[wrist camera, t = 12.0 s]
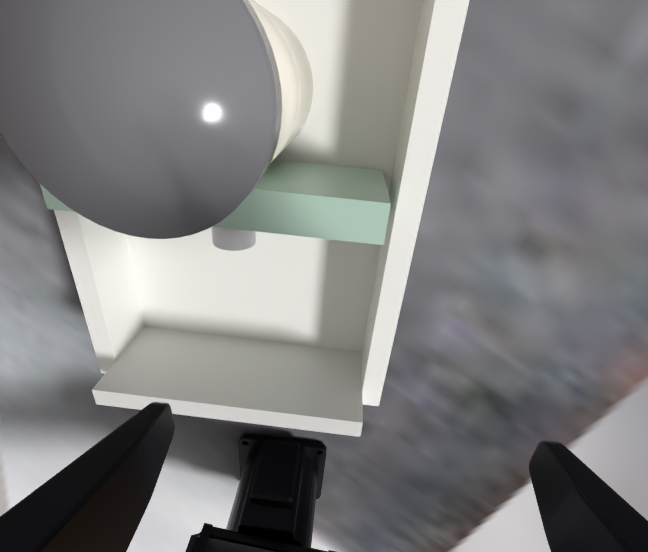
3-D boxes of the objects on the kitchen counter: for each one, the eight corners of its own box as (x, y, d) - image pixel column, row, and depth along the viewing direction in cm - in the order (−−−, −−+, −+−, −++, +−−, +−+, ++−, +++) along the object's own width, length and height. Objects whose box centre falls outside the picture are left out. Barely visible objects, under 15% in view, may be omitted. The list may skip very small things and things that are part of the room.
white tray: (375, 355, 23) (380, 439, 18) (139, 327, 23) (76, 402, 18) (476, -154, 12) (567, -330, 7) (33, -188, 12) (-200, -377, 7)
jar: (312, 164, 16) (271, 250, 8) (186, 152, 17) (27, 226, 9) (321, 5, 14) (271, -92, 6) (169, -6, 14) (-92, -116, 6)
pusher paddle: (371, 235, 18) (376, 284, 13) (127, 209, 18) (59, 249, 14) (382, 170, 16) (391, 203, 12) (115, 143, 16) (34, 166, 12)
